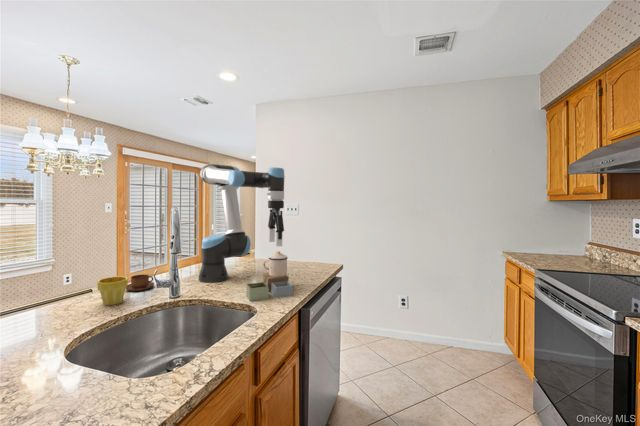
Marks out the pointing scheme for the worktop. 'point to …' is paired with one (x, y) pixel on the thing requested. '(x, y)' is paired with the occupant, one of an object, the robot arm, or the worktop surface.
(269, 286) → the walnut stand
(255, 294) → the olive tin
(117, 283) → the plant pot
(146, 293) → the worktop surface
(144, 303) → the worktop surface
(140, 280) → the cup and saucer
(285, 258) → the teacup with lid
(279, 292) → the grey tub
